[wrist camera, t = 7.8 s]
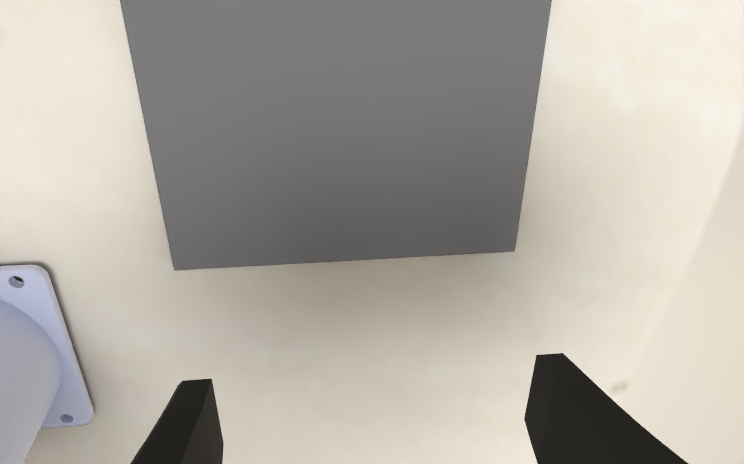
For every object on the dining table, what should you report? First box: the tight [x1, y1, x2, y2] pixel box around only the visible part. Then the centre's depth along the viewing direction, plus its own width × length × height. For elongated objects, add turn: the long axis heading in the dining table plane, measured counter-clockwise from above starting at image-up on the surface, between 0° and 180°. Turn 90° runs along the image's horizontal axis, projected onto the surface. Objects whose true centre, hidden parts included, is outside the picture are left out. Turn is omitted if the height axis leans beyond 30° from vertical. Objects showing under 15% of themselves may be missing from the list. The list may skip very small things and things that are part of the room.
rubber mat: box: [120, 0, 552, 270], centre depth 20 cm, size 13×13×1 cm
